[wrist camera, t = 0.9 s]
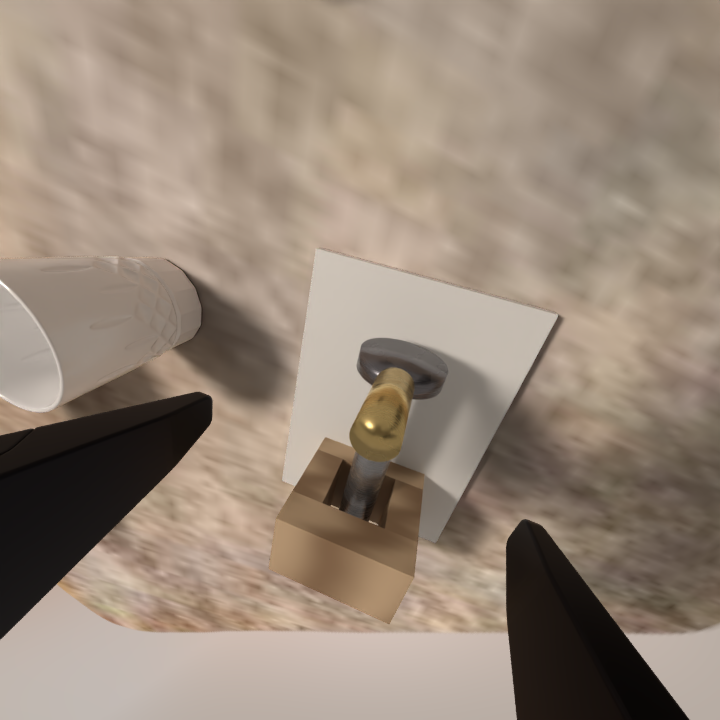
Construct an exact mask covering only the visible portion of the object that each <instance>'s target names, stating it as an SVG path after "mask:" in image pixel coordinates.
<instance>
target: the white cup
mask: <svg viewBox="0 0 720 720" xmlns="http://www.w3.org/2000/svg"><path fill="white" fill-rule="evenodd" d="M201 313H202V307H201V304H200V301H199V298H198V295H197V292H196V289H195V287H194V286H193V284H192V283H191V282H190V280H189V279H188V278H187V276H186V275H185V274H184V272H183V271H182V270H181V269H179V268H178V267H176V266H175V265H173V264H172V263H170V262H169V261H167V260H166V259H162V258H154V257H126V258H123V257H119V256H103V257H98V256H71V257H38V258H1V259H0V397H1V398H3V399H4V400H6V401H7V402H9V403H11V404H13V405H15V406H17V407H19V408H21V409H24V410H27V411H31V412H37V413H44V412H49V411H52V410H54V409H56V408H58V407H60V406H62V405H64V404H66V403H68V402H70V401H72V400H74V399H76V398H78V397H80V396H82V395H84V394H86V393H88V392H90V391H92V390H94V389H96V388H98V387H100V386H102V385H104V384H106V383H108V382H110V381H112V380H114V379H116V378H118V377H120V376H122V375H124V374H126V373H128V372H130V371H132V370H134V369H136V368H138V367H140V366H142V365H144V364H146V363H148V362H150V361H152V360H153V359H155V358H157V357H159V356H161V355H162V354H163V353H164V352H166V351H168V350H170V349H172V348H173V347H176V346H178V345H180V344H182V343H184V342H186V341H188V340H190V339H192V338H193V337H194V336H195V334H196V332H197V331H198V329H199V328H200V326H201Z"/></svg>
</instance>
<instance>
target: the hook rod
mask: <svg viewBox="0 0 720 720" xmlns="http://www.w3.org/2000/svg"><path fill="white" fill-rule="evenodd" d="M356 366H357V371H358V372H359V374H360V375H361V377H362V378H363V379H364V380H365V381H367V382H368V383H369V384H371V385H372V387H371V389H370V391H369V393H368V395H367V397H366V399H365V401H364V403H363V405H362V407H361V409H360V411H359V413H358V415H357V417H356V419H355V421H354V423H353V425H352V427H351V429H350V433H349V439H350V442H351V445H352V447H353V448H354V450H355V454H354V458H353V461H352V465H351V469H350V472H349V476H348V479H347V483H346V486H345V490H344V493H343V497H342V500H341V504H340V507H339V510H340V511H343V512H345V513H348V514H350V515H352V516H355V517H357V518H360V519H362V520H365V521H367V522H369V519H370V516H371V514H372V511H373V508H374V505H375V502H376V500H377V497H378V494H379V491H380V488H381V486H382V483H383V480H384V477H385V474H386V472H387V469H388V466H389V463H390V461H391V460H392V459H393V458H395V457H396V456H397V455H398V454H399V452H400V450H401V447H402V443H403V438H404V434H405V429H406V425H407V420H408V416H409V411H410V407H411V402H412V399H415V400H423V399H430V398H433V397H435V396H437V395H438V394H439V393H440V392H441V390H442V387H443V385H444V382H445V380H446V377H447V375H448V367H447V365H446V364H445V362H444V361H443V360H442V359H441V358H440V357H438V356H437V355H436V354H434V353H433V352H431V351H429V350H427V349H425V348H423V347H421V346H418V345H416V344H413V343H410V342H407V341H403V340H398V339H392V338H373V339H369V340H366V341H365V342H363V343H362V345H361V348H360V352H359V356H358V360H357V365H356Z"/></svg>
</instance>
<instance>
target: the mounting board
mask: <svg viewBox="0 0 720 720" xmlns="http://www.w3.org/2000/svg"><path fill="white" fill-rule="evenodd" d="M558 316H559V315H558V314H557V313H555V312H554V311H551V310H547V309H543V308H540V307H536V306H532V305H529V304H525V303H521V302H518V301H514V300H510V299H507V298H503V297H499V296H496V295H492V294H488V293H485V292H481V291H477V290H474V289H470V288H466V287H463V286H459V285H456V284H452V283H448V282H445V281H441V280H437V279H434V278H430V277H426V276H423V275H419V274H415V273H412V272H408V271H404V270H401V269H397V268H393V267H390V266H386V265H382V264H379V263H375V262H371V261H368V260H364V259H361V258H357V257H353V256H350V255H346V254H342V253H339V252H335V251H331V250H328V249H324V248H316V253H315V260H314V267H313V273H312V280H311V287H310V294H309V301H308V308H307V314H306V321H305V328H304V335H303V342H302V348H301V355H300V362H299V369H298V376H297V382H296V389H295V396H294V403H293V410H292V416H291V423H290V430H289V437H288V444H287V450H286V457H285V464H284V471H283V478H282V481H284V482H286V483H289V484H291V485H293V486H296V484H297V483H298V481H299V479H300V478H301V476H302V475H303V473H304V471H305V470H306V468H307V466H308V465H309V463H310V461H311V460H312V458H313V456H314V455H315V453H316V451H317V450H318V448H319V446H320V445H321V443H322V441H323V440H324V438H325V437H326V438H329V439H332V440H334V441H337V442H340V443H343V444H345V445H348V446H351V447H352V445H351V442H350V439H349V433H350V429H351V427H352V425H353V423H354V421H355V419H356V417H357V415H358V413H359V411H360V409H361V407H362V405H363V403H364V401H365V399H366V397H367V395H368V393H369V391H370V389H371V387H372V385H371V384H369V383H368V382H367V381H365V380H364V379H363V378H362V377H361V375H360V374H359V372H358V371H357V366H356V365H357V360H358V356H359V352H360V348H361V345H362V343H363V342H365V341H366V340H369V339H373V338H392V339H398V340H403V341H407V342H410V343H413V344H416V345H418V346H421V347H423V348H425V349H427V350H429V351H431V352H433V353H434V354H436V355H437V356H438V357H440V358H441V359H442V360H443V361H444V362H445V364H446V365H447V367H448V375H447V377H446V380H445V382H444V385H443V387H442V390H441V392H440V393H439V394H438V395H437V396H435V397H433V398H430V399H423V400H415V399H412V402H411V407H410V411H409V416H408V420H407V425H406V429H405V434H404V438H403V443H402V447H401V450H400V452H399V454H398V455H397V456H396V457H395V458H393V459H392V460H391V462H393V463H396V464H399V465H401V466H404V467H407V468H409V469H412V470H415V471H417V472H420V473H423V474H425V477H424V486H423V496H422V506H421V515H420V525H419V535H418V536H419V537H421V538H424V539H426V540H428V541H431V542H433V543H436V542H437V540H438V538H439V536H440V534H441V533H442V531H443V529H444V527H445V525H446V523H447V522H448V520H449V518H450V516H451V514H452V512H453V510H454V509H455V507H456V505H457V503H458V501H459V499H460V497H461V496H462V494H463V492H464V490H465V488H466V486H467V484H468V483H469V481H470V479H471V477H472V475H473V473H474V471H475V470H476V468H477V466H478V464H479V462H480V460H481V458H482V457H483V455H484V453H485V451H486V449H487V447H488V445H489V444H490V442H491V440H492V438H493V436H494V434H495V432H496V431H497V429H498V427H499V425H500V423H501V421H502V419H503V418H504V416H505V414H506V412H507V410H508V408H509V406H510V405H511V403H512V401H513V399H514V397H515V395H516V394H517V392H518V390H519V388H520V386H521V384H522V382H523V381H524V379H525V377H526V375H527V373H528V371H529V369H530V368H531V366H532V364H533V362H534V360H535V358H536V356H537V355H538V353H539V351H540V349H541V347H542V345H543V343H544V342H545V340H546V338H547V336H548V334H549V332H550V330H551V329H552V327H553V325H554V323H555V321H556V319H557V317H558Z"/></svg>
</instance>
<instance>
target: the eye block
mask: <svg viewBox="0 0 720 720" xmlns="http://www.w3.org/2000/svg"><path fill="white" fill-rule="evenodd" d="M354 454H355V450H354V448H353V447H351V446H348V445H345V444H343V443H340V442H337V441H334V440H332V439H329V438H326V437H325V438H324V440H323V441H322V443H321V445H320V446H319V448H318V450H317V451H316V453H315V455H314V456H313V458H312V460H311V461H310V463H309V465H308V466H307V468H306V470H305V471H304V473H303V475H302V476H301V478H300V479H299V481H298V483H297V484H296V486H295V488H294V489H293V491H292V493H291V494H290V496H289V498H288V499H287V501H286V503H285V504H284V506H283V508H282V509H281V511H280V513H279V514H278V516H277V518H276V522H275V529H274V536H273V543H272V549H271V556H270V563H269V569H270V570H272V571H274V572H276V573H279V574H281V575H283V576H285V577H287V578H289V579H292V580H294V581H296V582H298V583H300V584H303V585H305V586H307V587H309V588H311V589H313V590H316V591H318V592H320V593H322V594H324V595H327V596H329V597H331V598H333V599H335V600H337V601H340V602H342V603H344V604H346V605H348V606H350V607H353V608H355V609H357V610H359V611H361V612H364V613H366V614H368V615H370V616H372V617H374V618H377V619H379V620H381V621H383V622H385V623H388V624H390V622H391V620H392V618H393V616H394V614H395V613H396V611H397V609H398V607H399V605H400V603H401V601H402V599H403V597H404V596H405V594H406V592H407V590H408V588H409V586H410V584H411V582H412V580H413V579H414V573H415V564H416V554H417V544H418V535H419V525H420V515H421V506H422V496H423V486H424V477H425V474H423V473H420V472H417V471H415V470H412V469H409V468H407V467H404V466H401V465H399V464H396V463H393V462H391V461H390V463H389V466H388V469H387V472H386V474H385V477H384V480H383V483H382V486H381V488H380V491H379V494H378V497H377V500H376V502H375V505H374V508H373V511H372V514H371V516H370V519H369V520H370V521H372V522H375V523H377V524H378V526H377V525H374V524H372V523H369V522H367V521H365V520H362V519H360V518H357V517H355V516H352V515H350V514H348V513H345V512H343V511H340V510H338V509H335V508H333V507H331V505H333V506H336V507H338V508H339V507H340V504H341V500H342V497H343V493H344V490H345V486H346V483H347V479H348V476H349V472H350V469H351V465H352V461H353V458H354Z"/></svg>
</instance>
